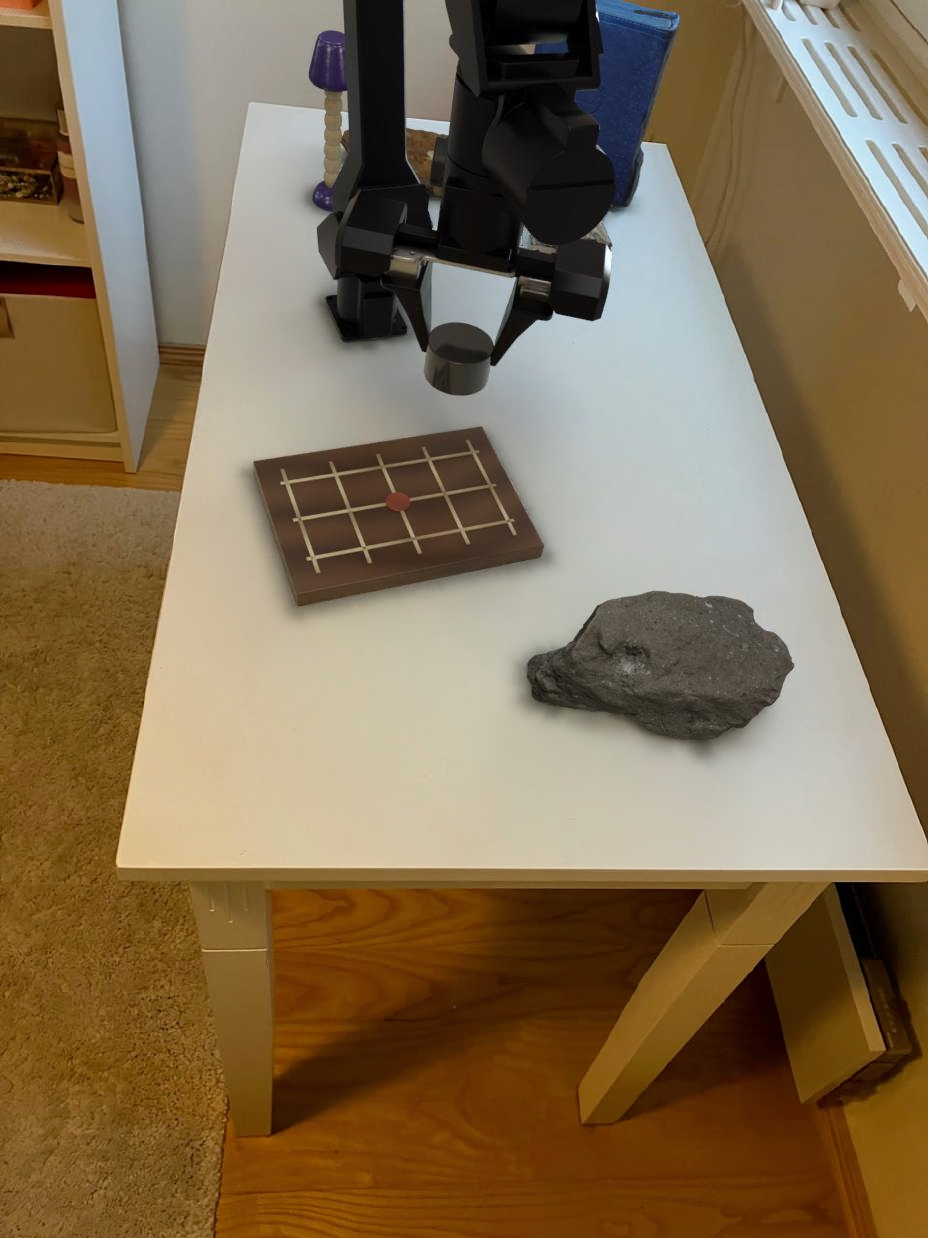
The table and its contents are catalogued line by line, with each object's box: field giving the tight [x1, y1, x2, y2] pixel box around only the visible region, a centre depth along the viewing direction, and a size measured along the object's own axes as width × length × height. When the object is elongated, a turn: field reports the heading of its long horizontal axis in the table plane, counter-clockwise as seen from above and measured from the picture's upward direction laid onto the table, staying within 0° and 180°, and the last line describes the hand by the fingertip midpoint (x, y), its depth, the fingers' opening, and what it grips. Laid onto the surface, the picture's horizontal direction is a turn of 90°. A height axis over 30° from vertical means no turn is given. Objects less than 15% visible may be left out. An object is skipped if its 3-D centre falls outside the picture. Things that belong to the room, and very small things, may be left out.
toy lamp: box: [308, 29, 347, 212], centre depth 97 cm, size 5×5×17 cm
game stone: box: [423, 321, 494, 397], centre depth 73 cm, size 5×5×3 cm
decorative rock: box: [340, 127, 449, 198], centre depth 108 cm, size 11×4×15 cm
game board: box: [252, 425, 545, 607], centre depth 77 cm, size 14×20×2 cm
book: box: [533, 0, 681, 208], centre depth 103 cm, size 14×5×20 cm, turn 74°
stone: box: [526, 590, 795, 740], centre depth 68 cm, size 18×9×10 cm
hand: (459, 355), depth 73 cm, fingers closed on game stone, 5 cm apart
